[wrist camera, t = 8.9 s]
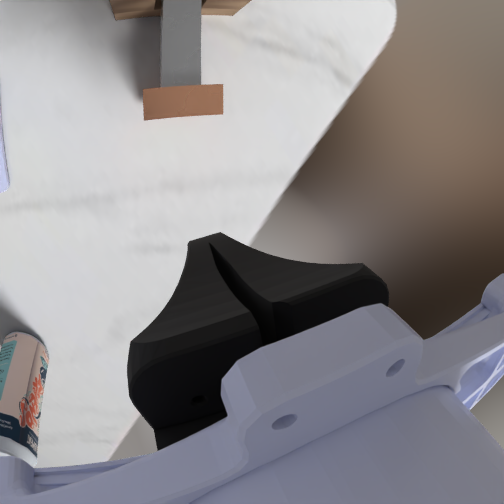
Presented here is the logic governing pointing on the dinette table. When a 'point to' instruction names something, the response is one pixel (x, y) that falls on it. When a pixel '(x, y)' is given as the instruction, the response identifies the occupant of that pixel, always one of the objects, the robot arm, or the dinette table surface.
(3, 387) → the beer can
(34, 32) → the dinette table surface
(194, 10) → the shaft
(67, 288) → the dinette table surface
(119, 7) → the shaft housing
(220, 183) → the dinette table surface
